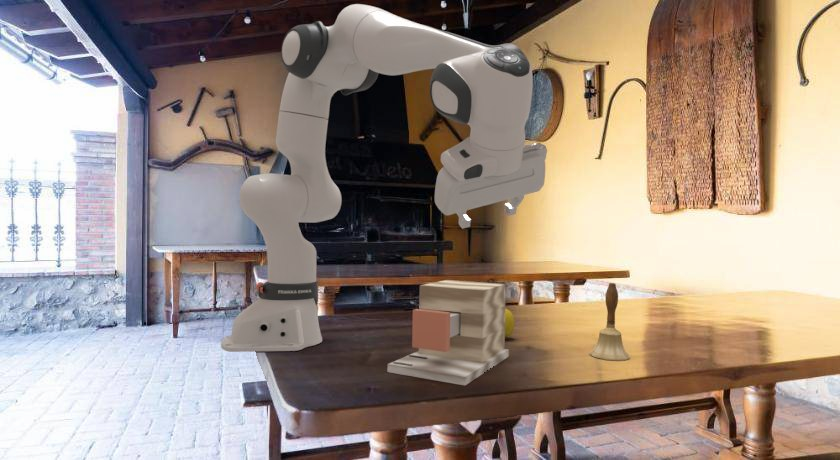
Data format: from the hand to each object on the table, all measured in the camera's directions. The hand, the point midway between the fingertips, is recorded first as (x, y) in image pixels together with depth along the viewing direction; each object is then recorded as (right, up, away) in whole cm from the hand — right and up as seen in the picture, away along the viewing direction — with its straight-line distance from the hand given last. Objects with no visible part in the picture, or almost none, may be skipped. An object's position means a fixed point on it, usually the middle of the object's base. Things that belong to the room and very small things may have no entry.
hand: (487, 219), depth 95 cm
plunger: (-8, -24, +7) cm, 26 cm away
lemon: (+8, -29, +35) cm, 46 cm away
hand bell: (+29, -30, +20) cm, 46 cm away
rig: (-6, -29, +11) cm, 32 cm away
